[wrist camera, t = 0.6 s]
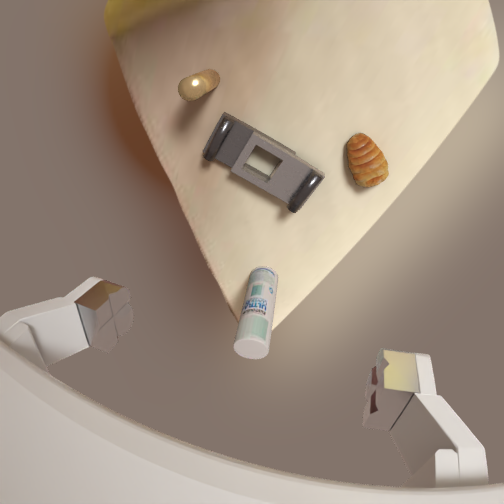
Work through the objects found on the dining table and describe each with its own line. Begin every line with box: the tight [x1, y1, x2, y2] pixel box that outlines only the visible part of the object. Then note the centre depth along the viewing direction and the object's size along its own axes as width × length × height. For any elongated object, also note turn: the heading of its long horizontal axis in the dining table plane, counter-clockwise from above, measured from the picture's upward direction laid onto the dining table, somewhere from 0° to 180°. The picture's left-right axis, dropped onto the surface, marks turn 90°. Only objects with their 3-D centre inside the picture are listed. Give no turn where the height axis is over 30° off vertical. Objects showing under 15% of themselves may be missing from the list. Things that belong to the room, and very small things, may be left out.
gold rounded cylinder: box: [178, 69, 220, 101], centre depth 44 cm, size 4×4×10 cm
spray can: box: [233, 266, 278, 359], centre depth 65 cm, size 6×6×20 cm
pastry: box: [347, 133, 389, 187], centre depth 51 cm, size 9×7×4 cm
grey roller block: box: [203, 112, 325, 213], centre depth 53 cm, size 20×8×5 cm, turn 61°
